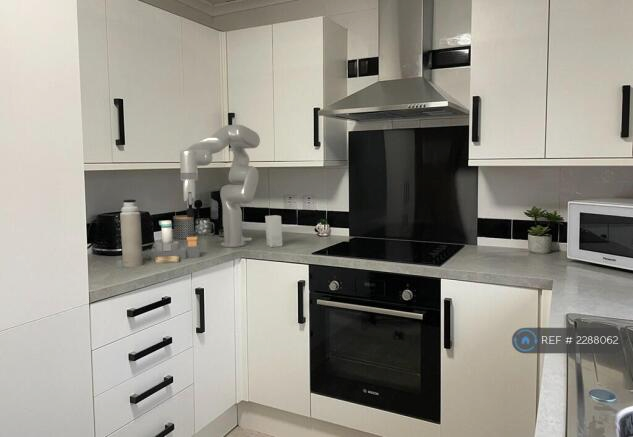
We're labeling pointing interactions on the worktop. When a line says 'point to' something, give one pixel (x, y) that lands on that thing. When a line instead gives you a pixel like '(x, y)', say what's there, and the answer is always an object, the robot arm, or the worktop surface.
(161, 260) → the tray
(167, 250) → the housing
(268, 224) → the skincare box
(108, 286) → the worktop surface
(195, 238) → the release button
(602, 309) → the worktop surface
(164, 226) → the cylinder
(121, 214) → the thermos bottle
